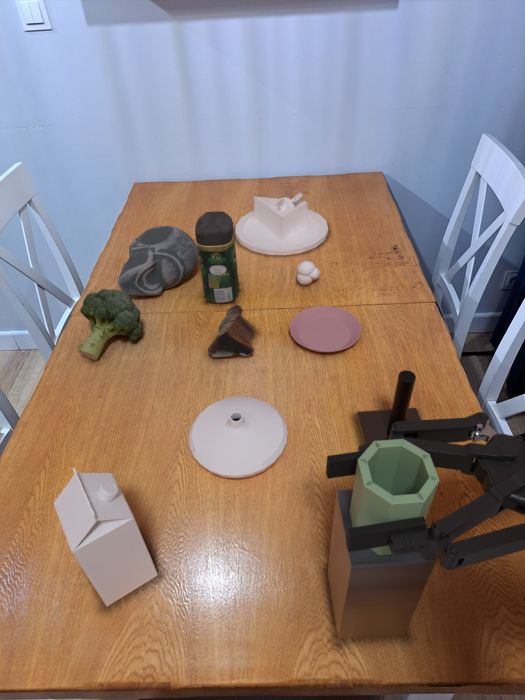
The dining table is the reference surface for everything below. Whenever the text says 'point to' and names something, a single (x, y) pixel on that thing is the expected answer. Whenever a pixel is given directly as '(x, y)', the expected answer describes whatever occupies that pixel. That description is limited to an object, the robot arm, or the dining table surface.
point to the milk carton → (104, 535)
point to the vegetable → (109, 319)
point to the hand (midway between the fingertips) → (337, 501)
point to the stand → (372, 582)
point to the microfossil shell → (307, 272)
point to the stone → (233, 336)
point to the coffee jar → (217, 257)
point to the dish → (281, 227)
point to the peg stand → (389, 412)
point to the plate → (325, 329)
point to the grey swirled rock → (158, 261)
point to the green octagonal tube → (392, 485)
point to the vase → (238, 437)
